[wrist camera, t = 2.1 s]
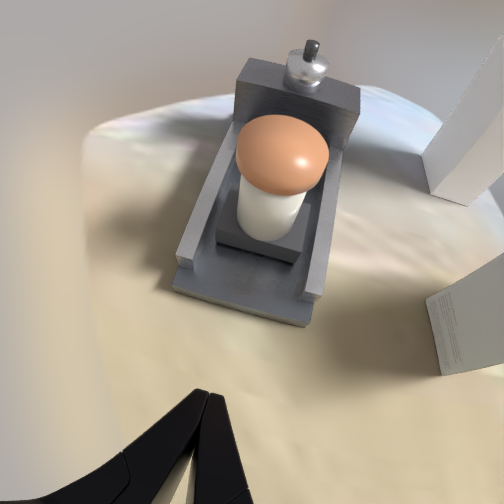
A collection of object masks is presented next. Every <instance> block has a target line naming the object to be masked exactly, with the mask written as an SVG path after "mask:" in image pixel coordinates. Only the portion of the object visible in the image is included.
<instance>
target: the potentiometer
mask: <svg viewBox="0 0 504 504" xmlns="http://www.w3.org/2000/svg"><path fill="white" fill-rule="evenodd" d="M319 45H320V44H319V43H318V42H317V41H314V40H307V42H306V45H305V49H296V50H292V51H290V52H289V54H288V58H287V63H286V67H285V72H284V76H283V81H284V83H285V84H286V85H287V86H288V87H290V88H291V89H293V90H295V91H298V92H302V93H316V92H318V91H319V90H320V89H321V87H322V84H323V81H324V78H325V75H326V72H327V68H328V65H329V63H328V61H327V59H326V58H325V57H323V56H322V55H320V54H318V53H317V52H318V49H319Z"/></svg>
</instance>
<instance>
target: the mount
mask: <svg viewBox="0 0 504 504" xmlns="http://www.w3.org/2000/svg"><path fill="white" fill-rule="evenodd" d="M285 67H286V66H285V65H281V64H277V63H272V62H268V61H263V60H259V59H254V58H249V59H248V61H247V63H246V64H245V66H244V68H243V69H242V71H241V73H240V74H239V76H238V78H237V80H236V89H235V101H234V113H233V121H232V123H231V125H230V127H229V130H228V132H227V134H226V136H225V138H224V140H223V143H222V145H221V147H220V149H219V151H218V154H217V156H216V158H215V160H214V162H213V165H212V167H211V169H210V172H209V174H208V176H207V178H206V181H205V183H204V185H203V188H202V190H201V192H200V195H199V197H198V199H197V202H196V204H195V207H194V209H193V211H192V214H191V216H190V219H189V221H188V224H187V226H186V229H185V231H184V234H183V236H182V239H181V241H180V244H179V246H178V249H177V251H176V254H175V255H176V259H177V262H178V269H177V272H176V274H175V277H174V280H173V283H172V287H173V289H174V291H175V292H178V293H181V294H184V295H188V296H191V297H194V298H198V299H201V300H204V301H208V302H211V303H215V304H218V305H221V306H225V307H228V308H232V309H235V310H239V311H243V312H246V313H250V314H253V315H257V316H261V317H264V318H268V319H272V320H276V321H280V322H283V323H287V324H291V325H295V326H299V327H303V328H305V327H306V326H307V325H309V324H310V320H311V315H312V310H313V305H314V303H315V302H316V301H317V300H318V299H319V298H320V297H321V296H322V294H323V288H324V282H325V277H326V271H327V265H328V259H329V253H330V246H331V240H332V233H333V227H334V220H335V212H336V205H337V197H338V189H339V181H340V173H341V164H342V154H343V149H344V147H345V145H346V143H347V141H348V139H349V136H350V134H351V132H352V130H353V128H354V126H355V124H356V121H357V119H358V117H359V115H360V88H359V87H356V86H353V85H350V84H347V83H344V82H341V81H338V80H335V79H332V78H329V77H325V78H324V81H323V84H322V87H321V89H320V90H319V91H318V92H316V93H302V92H298V91H295V90H293V89H291V88H290V87H288V86H287V85H286V84H285V83H284V81H283V76H284V72H285ZM266 115H285V116H290V117H293V118H297V119H299V120H302V121H304V122H306V123H307V124H309V125H310V126H312V127H313V128H314V129H316V130H317V131H318V132H319V133H320V134H321V136H322V137H323V138H324V140H325V142H326V144H327V146H328V150H329V159H328V162H327V165H326V167H325V169H324V171H323V174H322V176H321V178H320V180H319V182H318V183H317V184H316V185H315V186H314V187H313V188H312V189H310V190H308V191H307V192H306V195H305V197H304V200H303V202H304V203H307V204H310V205H311V207H310V212H309V218H308V223H307V228H306V233H305V238H304V243H303V248H302V252H301V254H300V256H299V258H298V259H297V261H296V263H295V264H294V263H291V262H287V261H284V260H280V259H277V258H273V257H269V256H266V255H262V254H259V253H255V252H251V251H248V250H244V249H241V248H237V247H233V246H230V245H226V244H223V243H219V242H216V241H215V228H216V225H217V222H218V219H219V217H220V214H221V211H222V208H223V206H224V203H225V200H226V198H227V195H228V192H229V190H230V187H231V184H232V183H235V184H239V185H240V180H241V173H240V171H239V169H238V166H237V163H236V150H237V140H238V135H239V133H240V131H241V129H242V128H243V127H244V126H245V125H246V124H247V123H248V122H250V121H251V120H253V119H255V118H258V117H261V116H266Z"/></svg>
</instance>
